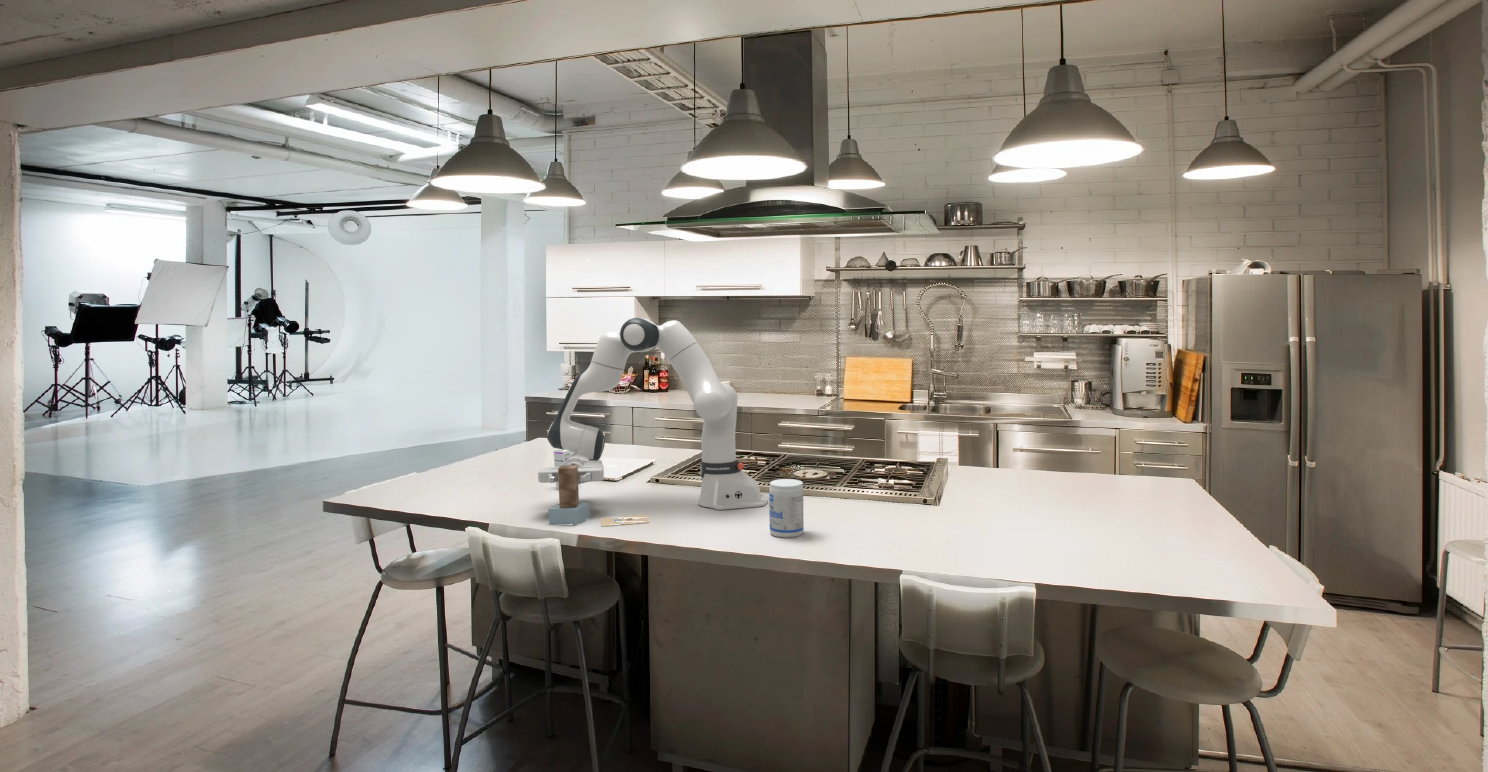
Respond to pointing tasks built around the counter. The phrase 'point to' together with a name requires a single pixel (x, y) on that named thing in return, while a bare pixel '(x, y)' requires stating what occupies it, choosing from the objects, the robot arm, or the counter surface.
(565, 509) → the brick
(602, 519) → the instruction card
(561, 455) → the syrup box
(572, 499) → the block
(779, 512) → the supplement tub
